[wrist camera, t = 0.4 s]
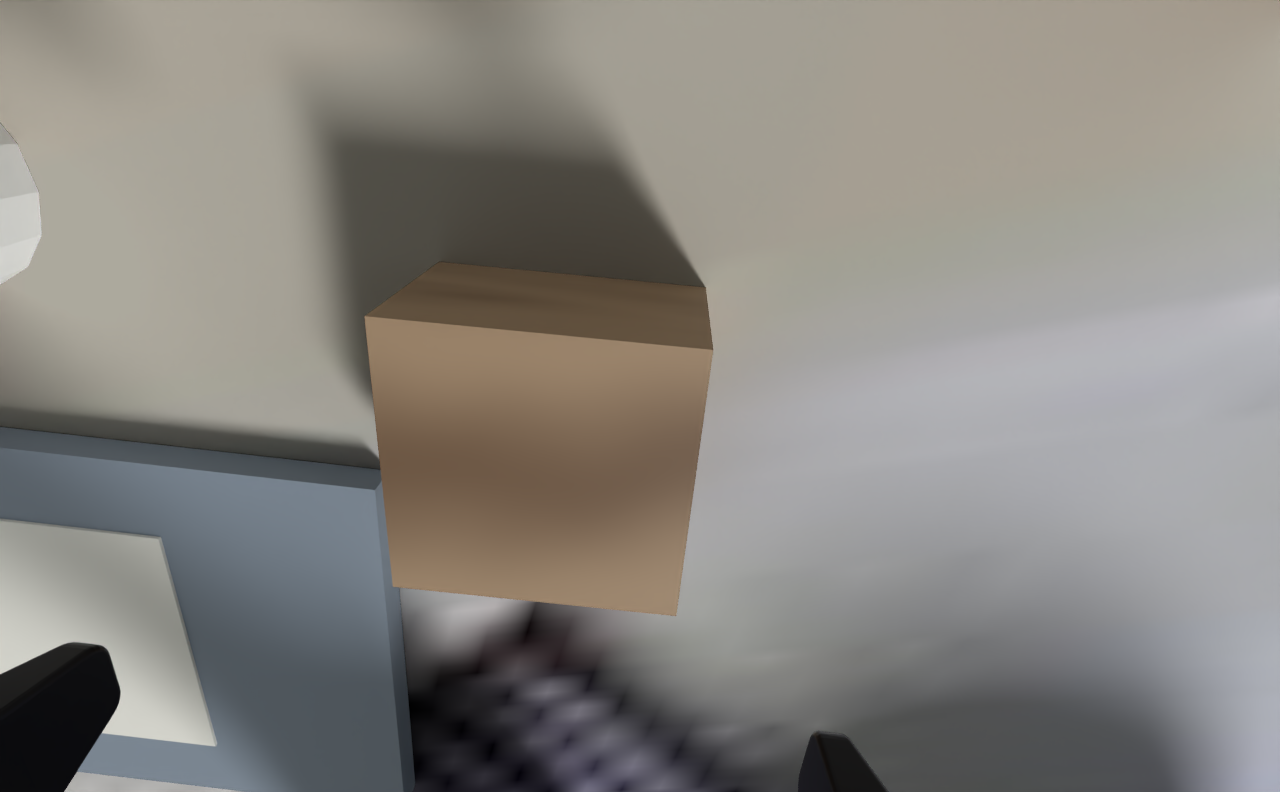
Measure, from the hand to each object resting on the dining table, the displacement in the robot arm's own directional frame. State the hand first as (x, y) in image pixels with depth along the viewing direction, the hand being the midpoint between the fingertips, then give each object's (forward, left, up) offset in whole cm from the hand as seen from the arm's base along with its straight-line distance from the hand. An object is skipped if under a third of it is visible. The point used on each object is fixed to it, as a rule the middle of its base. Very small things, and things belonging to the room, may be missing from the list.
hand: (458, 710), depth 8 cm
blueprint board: (-10, +16, -10) cm, 22 cm away
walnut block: (0, 0, -10) cm, 10 cm away
